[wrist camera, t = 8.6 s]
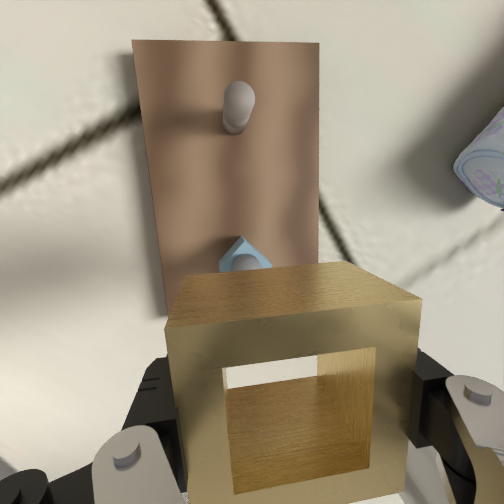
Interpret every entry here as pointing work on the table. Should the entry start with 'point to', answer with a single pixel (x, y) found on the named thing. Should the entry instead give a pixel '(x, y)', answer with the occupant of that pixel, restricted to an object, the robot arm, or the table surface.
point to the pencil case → (485, 163)
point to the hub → (243, 258)
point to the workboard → (230, 151)
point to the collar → (294, 384)
